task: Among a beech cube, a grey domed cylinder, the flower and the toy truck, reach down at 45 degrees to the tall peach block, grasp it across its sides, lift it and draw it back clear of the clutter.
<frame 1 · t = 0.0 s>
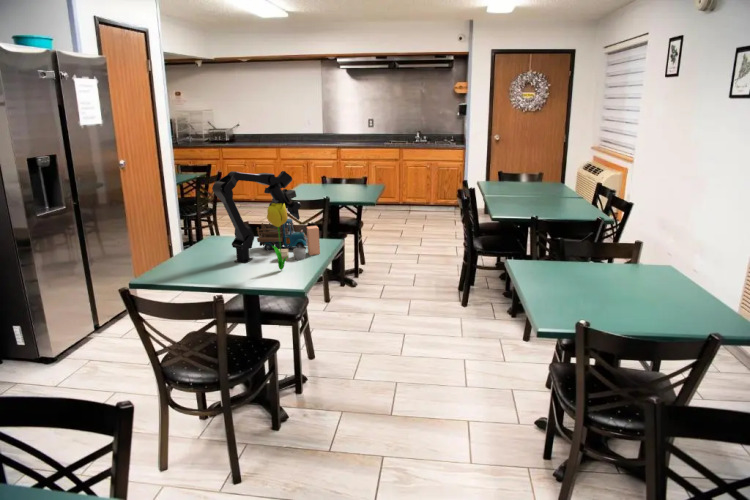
hand: (292, 218, 268), 15 cm above the table, tool tilted 35°, fingers open, 9 cm apart
toy truck: (284, 248, 269), on the table
beech cube: (283, 259, 250), on the table
peach block: (314, 253, 259), on the table
grey domed cylinder: (299, 258, 251), on the table
flower: (281, 271, 233), on the table
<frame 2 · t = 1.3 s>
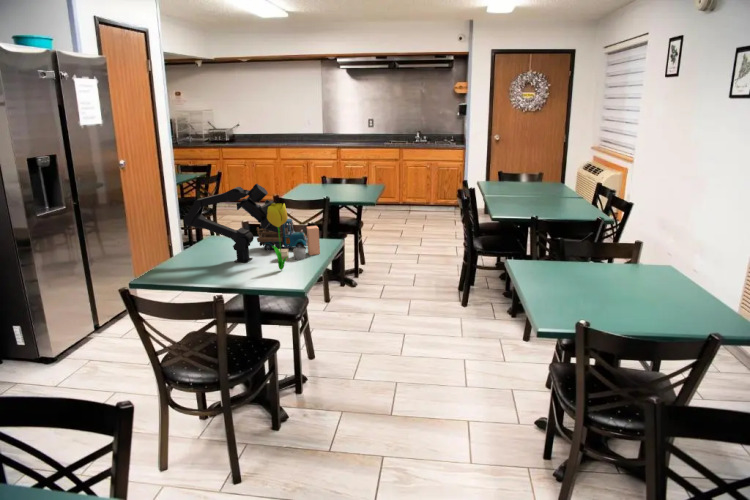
hand: (278, 230, 249), 13 cm above the table, tool tilted 45°, fingers open, 9 cm apart
nothing on the table moved.
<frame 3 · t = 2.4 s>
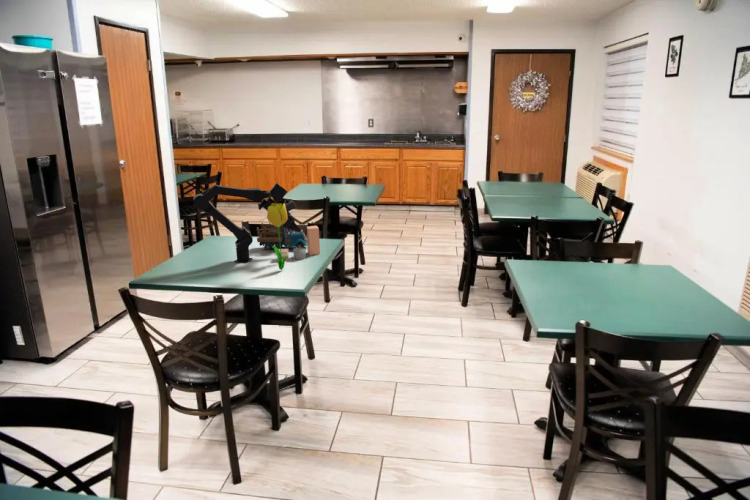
hand: (298, 229, 254), 13 cm above the table, tool tilted 45°, fingers open, 9 cm apart
nothing on the table moved.
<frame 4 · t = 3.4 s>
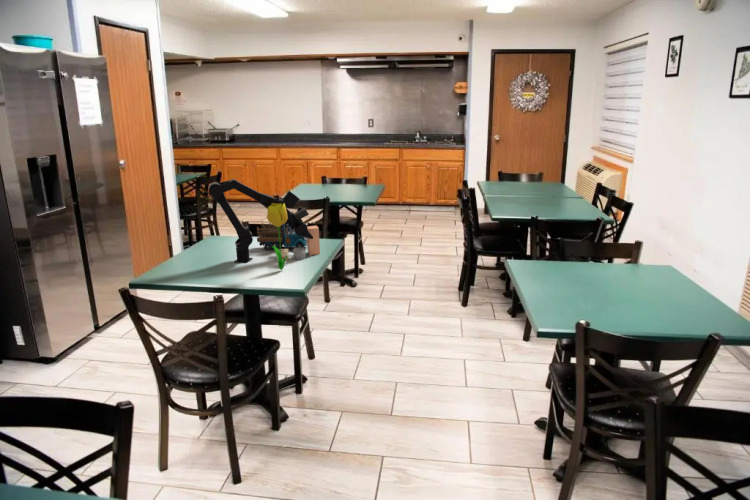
hand: (310, 236, 256), 9 cm above the table, tool tilted 45°, fingers open, 9 cm apart
nothing on the table moved.
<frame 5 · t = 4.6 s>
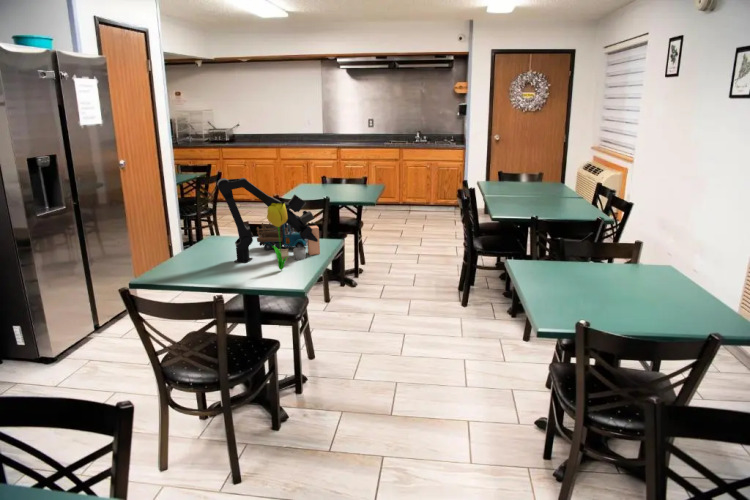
hand: (316, 239, 257), 7 cm above the table, tool tilted 45°, fingers closed on peach block, 5 cm apart
peach block: (314, 253, 259), on the table, touching gripper
everything else where it was.
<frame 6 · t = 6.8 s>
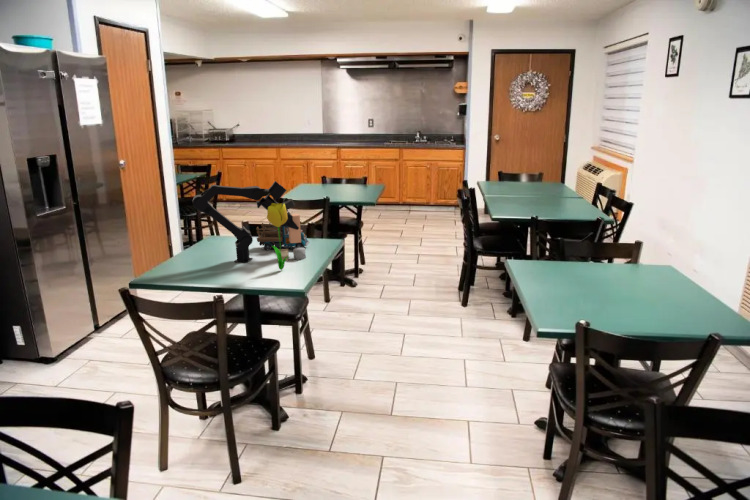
hand: (297, 227, 253), 13 cm above the table, tool tilted 45°, fingers closed on peach block, 5 cm apart
peach block: (295, 241, 254), point 7 cm above the table, touching gripper
everything else where it was.
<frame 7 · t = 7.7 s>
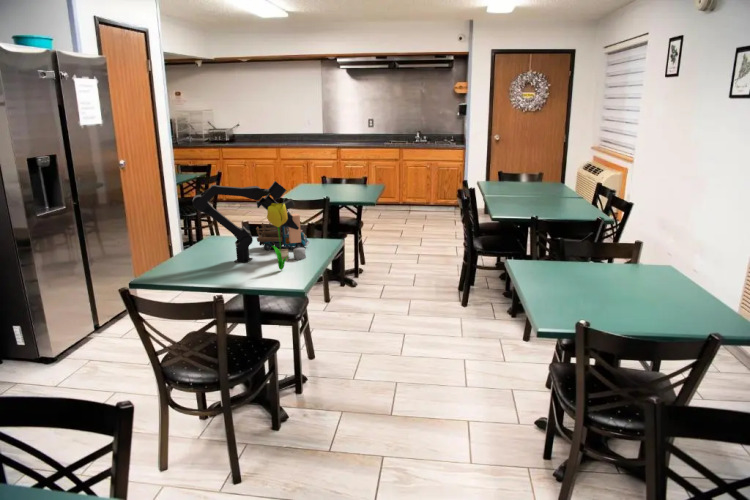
hand: (297, 227, 253), 13 cm above the table, tool tilted 45°, fingers closed on peach block, 5 cm apart
peach block: (295, 241, 254), point 7 cm above the table, touching gripper
everything else where it was.
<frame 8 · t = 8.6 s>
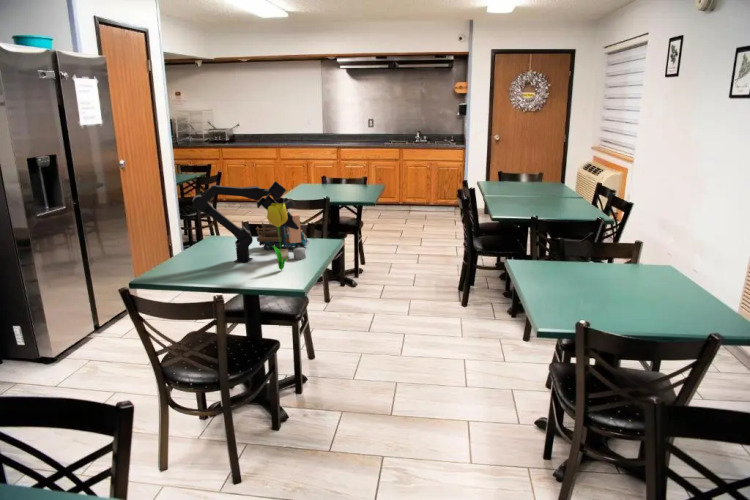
hand: (297, 227, 253), 13 cm above the table, tool tilted 45°, fingers closed on peach block, 5 cm apart
peach block: (295, 241, 254), point 7 cm above the table, touching gripper
everything else where it was.
at the end: the gripper is holding peach block; peach block point 6.8 cm above the table; beech cube moved 0.1 cm from its start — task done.
